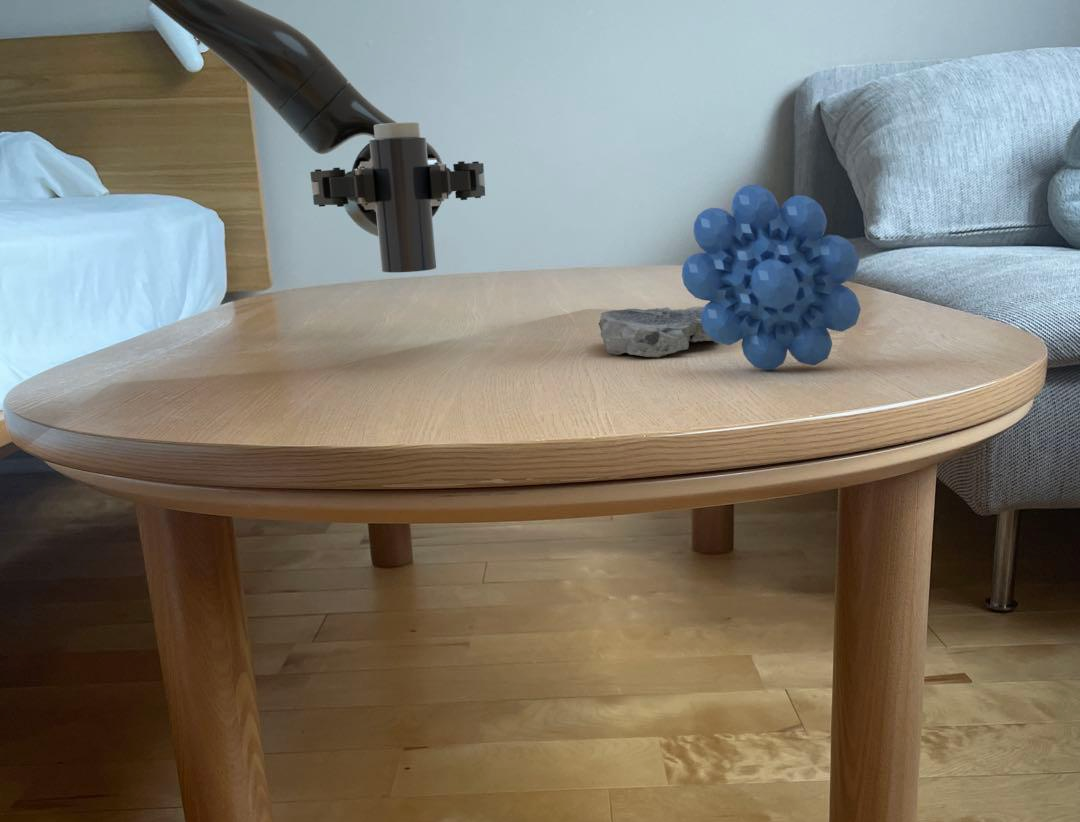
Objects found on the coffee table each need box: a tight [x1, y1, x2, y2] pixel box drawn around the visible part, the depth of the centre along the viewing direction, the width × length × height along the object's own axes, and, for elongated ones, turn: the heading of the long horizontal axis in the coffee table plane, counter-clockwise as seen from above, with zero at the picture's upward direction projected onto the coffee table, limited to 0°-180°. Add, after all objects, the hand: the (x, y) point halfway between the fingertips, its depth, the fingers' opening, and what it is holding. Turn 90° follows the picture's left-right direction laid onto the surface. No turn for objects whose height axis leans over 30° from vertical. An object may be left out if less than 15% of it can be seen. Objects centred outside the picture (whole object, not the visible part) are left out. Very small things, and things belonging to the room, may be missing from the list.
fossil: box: [598, 306, 714, 358], centre depth 82 cm, size 11×4×10 cm
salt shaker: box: [368, 121, 437, 273], centre depth 75 cm, size 4×4×10 cm
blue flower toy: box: [681, 184, 862, 371], centre depth 68 cm, size 12×7×12 cm, turn 82°
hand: (403, 184), depth 72 cm, fingers closed on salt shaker, 4 cm apart
